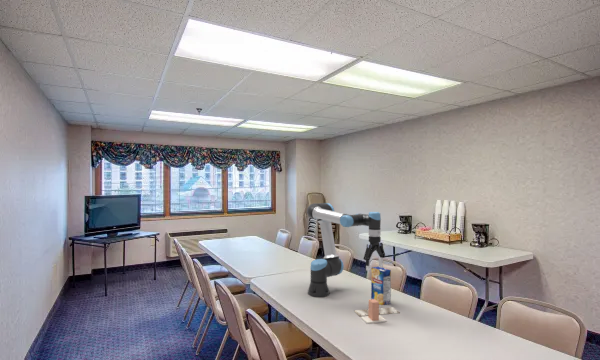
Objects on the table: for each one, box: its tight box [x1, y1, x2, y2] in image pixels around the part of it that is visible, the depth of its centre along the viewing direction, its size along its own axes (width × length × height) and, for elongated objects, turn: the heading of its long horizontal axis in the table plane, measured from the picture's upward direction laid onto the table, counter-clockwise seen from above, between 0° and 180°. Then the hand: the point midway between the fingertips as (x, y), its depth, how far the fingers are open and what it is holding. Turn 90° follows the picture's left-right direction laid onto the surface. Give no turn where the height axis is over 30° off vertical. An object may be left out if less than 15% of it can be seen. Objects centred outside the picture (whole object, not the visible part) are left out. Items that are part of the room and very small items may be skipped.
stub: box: [360, 298, 387, 325], centre depth 184 cm, size 12×7×11 cm, turn 103°
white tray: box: [353, 306, 401, 318], centre depth 190 cm, size 26×18×2 cm
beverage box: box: [370, 265, 392, 306], centre depth 216 cm, size 7×11×22 cm, turn 31°
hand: (374, 269), depth 209 cm, fingers open, 13 cm apart
